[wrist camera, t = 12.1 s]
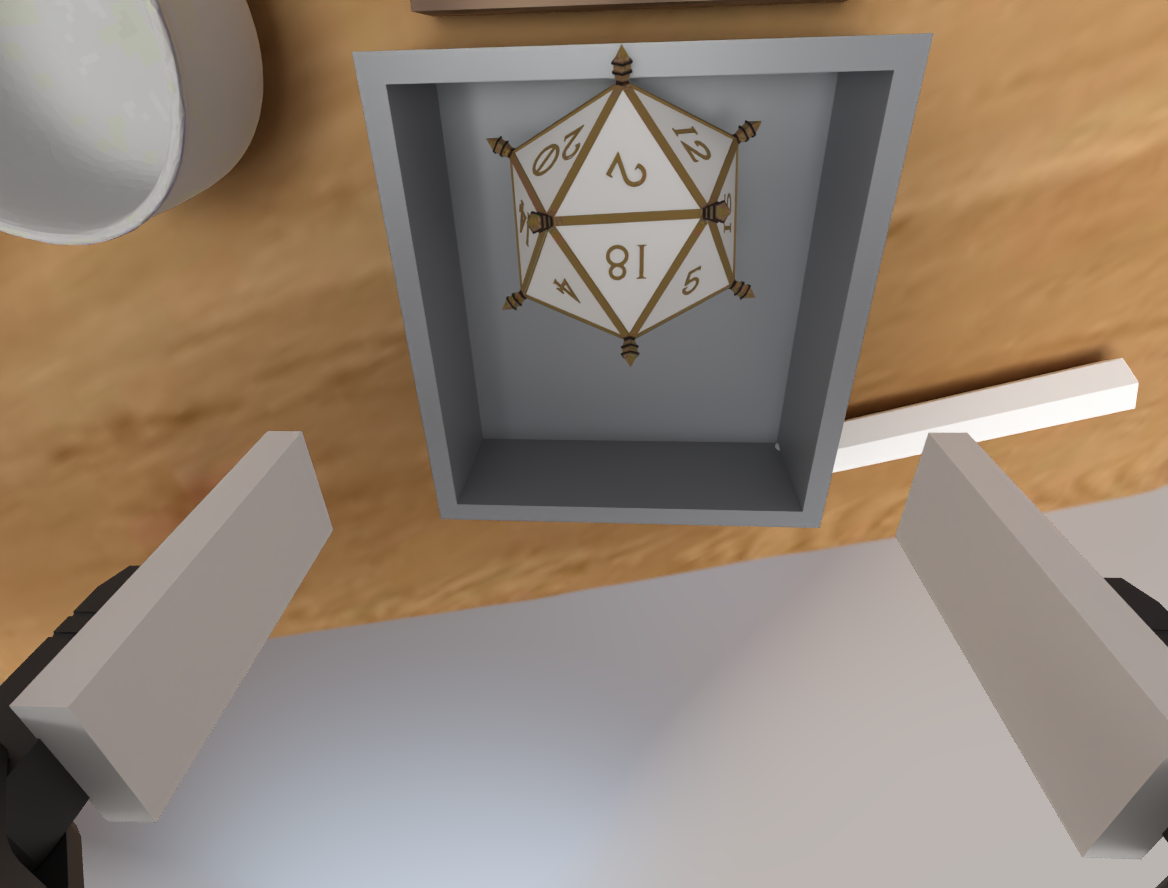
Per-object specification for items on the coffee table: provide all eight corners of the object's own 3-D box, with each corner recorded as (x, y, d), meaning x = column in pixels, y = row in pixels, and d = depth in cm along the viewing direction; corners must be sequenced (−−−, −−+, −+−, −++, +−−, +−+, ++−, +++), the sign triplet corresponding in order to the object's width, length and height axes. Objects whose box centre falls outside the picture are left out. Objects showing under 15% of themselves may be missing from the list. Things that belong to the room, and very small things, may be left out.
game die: (598, 326, 27) (429, 371, 20) (589, 113, 25) (388, 68, 17) (802, 334, 22) (683, 399, 15) (819, 70, 20) (684, -21, 12)
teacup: (274, -143, 20) (83, -252, 13) (325, 211, 25) (213, 266, 19) (-150, -177, 20) (-556, -302, 13) (-3, 181, 26) (-232, 224, 19)
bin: (472, 444, 31) (440, 519, 26) (416, 54, 22) (352, 51, 17) (787, 448, 30) (819, 527, 25) (860, 40, 21) (933, 33, 16)
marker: (730, 445, 31) (1096, 360, 27) (740, 486, 31) (1107, 408, 27) (730, 449, 28) (1135, 356, 24) (741, 494, 28) (1147, 408, 24)
